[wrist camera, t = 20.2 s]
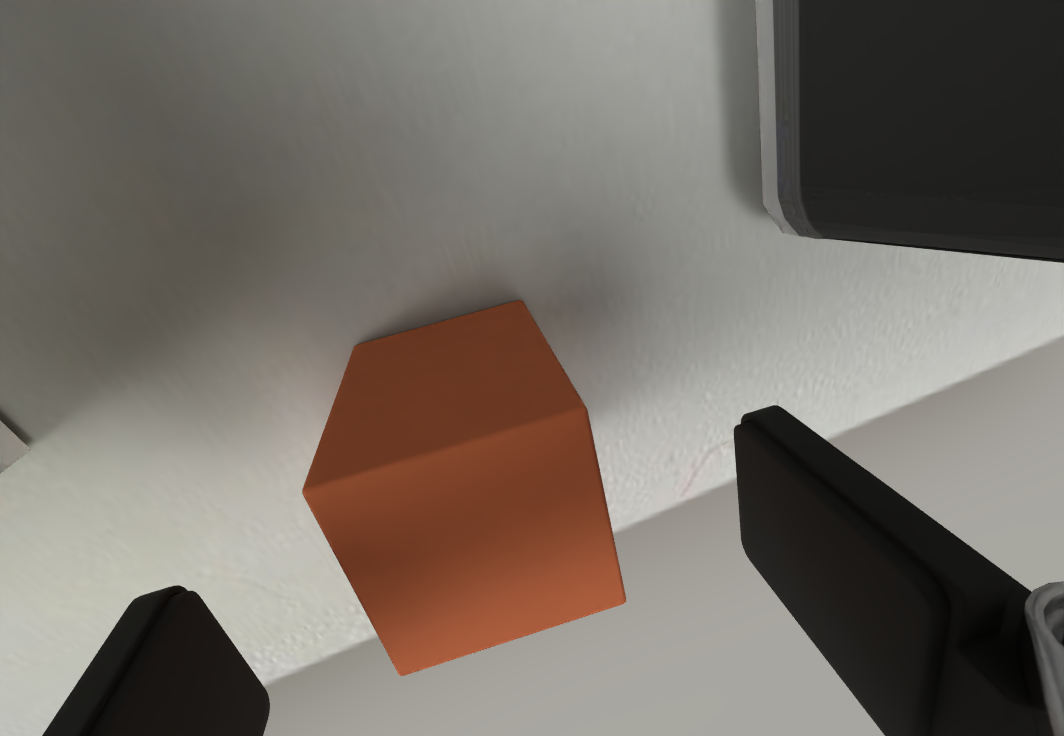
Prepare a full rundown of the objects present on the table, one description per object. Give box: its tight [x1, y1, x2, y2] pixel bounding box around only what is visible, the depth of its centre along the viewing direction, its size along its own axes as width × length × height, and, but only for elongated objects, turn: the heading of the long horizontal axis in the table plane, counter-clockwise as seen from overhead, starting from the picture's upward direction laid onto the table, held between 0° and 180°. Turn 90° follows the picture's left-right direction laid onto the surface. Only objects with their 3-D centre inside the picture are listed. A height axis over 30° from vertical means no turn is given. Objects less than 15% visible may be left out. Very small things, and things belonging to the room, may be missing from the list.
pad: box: [302, 300, 626, 676], centre depth 11 cm, size 4×4×6 cm
